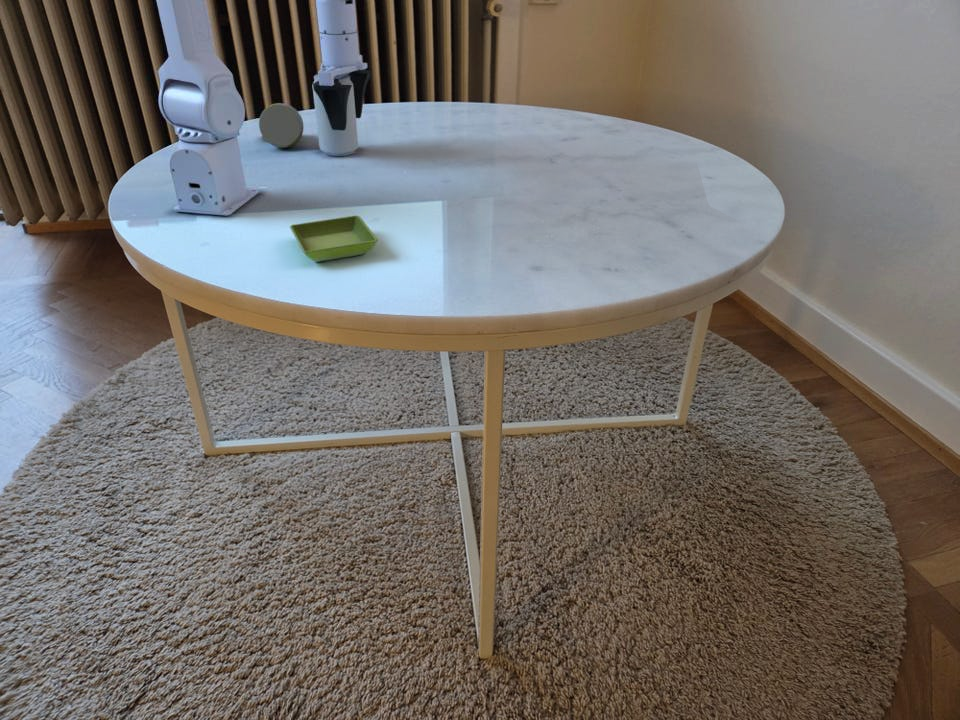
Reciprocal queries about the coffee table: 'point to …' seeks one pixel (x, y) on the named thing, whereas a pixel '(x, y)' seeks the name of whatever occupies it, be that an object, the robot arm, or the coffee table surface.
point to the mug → (281, 125)
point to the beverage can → (337, 139)
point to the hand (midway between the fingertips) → (346, 123)
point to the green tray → (334, 238)
